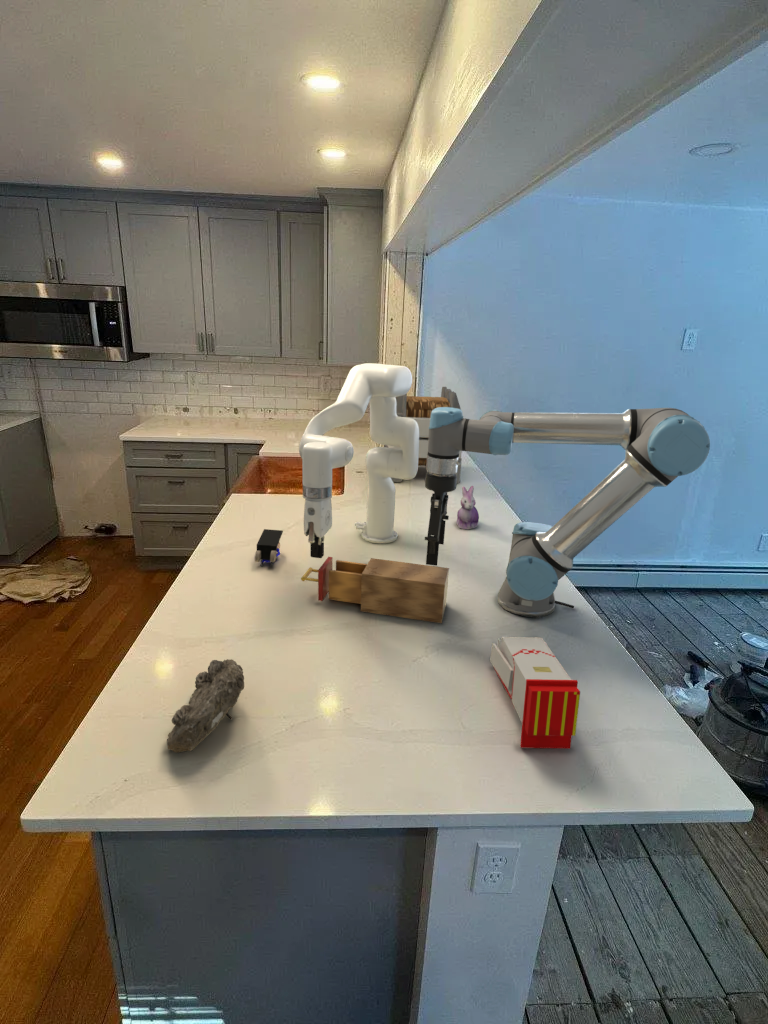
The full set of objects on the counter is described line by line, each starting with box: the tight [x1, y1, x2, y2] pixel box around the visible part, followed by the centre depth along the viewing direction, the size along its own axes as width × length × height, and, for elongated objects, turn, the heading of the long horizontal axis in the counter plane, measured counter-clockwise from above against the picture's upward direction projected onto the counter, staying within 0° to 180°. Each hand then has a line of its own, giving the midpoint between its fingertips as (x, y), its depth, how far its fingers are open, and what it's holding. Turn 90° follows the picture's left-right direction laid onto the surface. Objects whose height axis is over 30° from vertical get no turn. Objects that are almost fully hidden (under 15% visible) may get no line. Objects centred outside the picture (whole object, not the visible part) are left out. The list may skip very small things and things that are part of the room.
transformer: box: [383, 386, 463, 484], centre depth 268 cm, size 34×33×41 cm
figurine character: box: [254, 528, 284, 568], centre depth 174 cm, size 7×8×15 cm
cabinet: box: [360, 557, 450, 624], centre depth 149 cm, size 21×10×11 cm, turn 78°
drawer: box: [300, 556, 368, 605], centre depth 152 cm, size 25×9×9 cm, turn 78°
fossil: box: [166, 658, 245, 754], centre depth 106 cm, size 22×10×15 cm
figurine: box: [455, 485, 480, 530], centre depth 208 cm, size 9×10×15 cm
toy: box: [489, 636, 581, 749], centre depth 115 cm, size 12×13×30 cm
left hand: (317, 556), depth 151 cm, fingers closed
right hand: (435, 553), depth 144 cm, fingers open, 13 cm apart
